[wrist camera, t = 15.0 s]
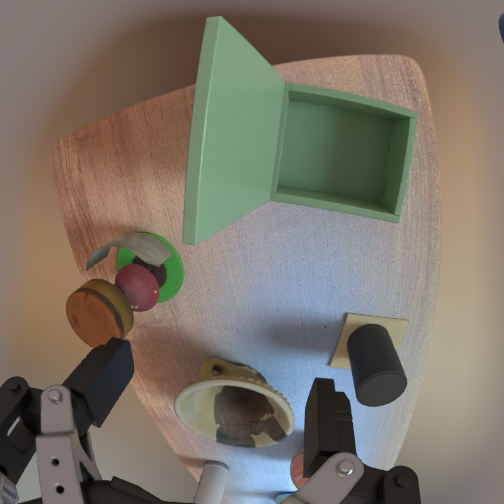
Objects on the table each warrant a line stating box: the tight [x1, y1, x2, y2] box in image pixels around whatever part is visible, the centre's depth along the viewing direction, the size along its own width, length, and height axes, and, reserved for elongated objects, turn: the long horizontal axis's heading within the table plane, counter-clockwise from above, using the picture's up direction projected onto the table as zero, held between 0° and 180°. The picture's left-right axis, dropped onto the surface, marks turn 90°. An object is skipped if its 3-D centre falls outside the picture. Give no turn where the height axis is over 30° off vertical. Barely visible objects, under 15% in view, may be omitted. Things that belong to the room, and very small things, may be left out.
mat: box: [330, 313, 410, 369], centre depth 39 cm, size 10×10×1 cm
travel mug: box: [193, 461, 229, 504], centre depth 49 cm, size 6×7×20 cm
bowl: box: [174, 358, 294, 448], centre depth 41 cm, size 18×18×10 cm
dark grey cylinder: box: [347, 324, 407, 407], centre depth 34 cm, size 7×7×10 cm
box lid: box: [182, 16, 285, 246], centre depth 19 cm, size 14×12×1 cm
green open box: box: [270, 82, 418, 223], centre depth 28 cm, size 14×12×7 cm
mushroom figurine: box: [66, 232, 183, 348], centre depth 33 cm, size 12×13×15 cm
